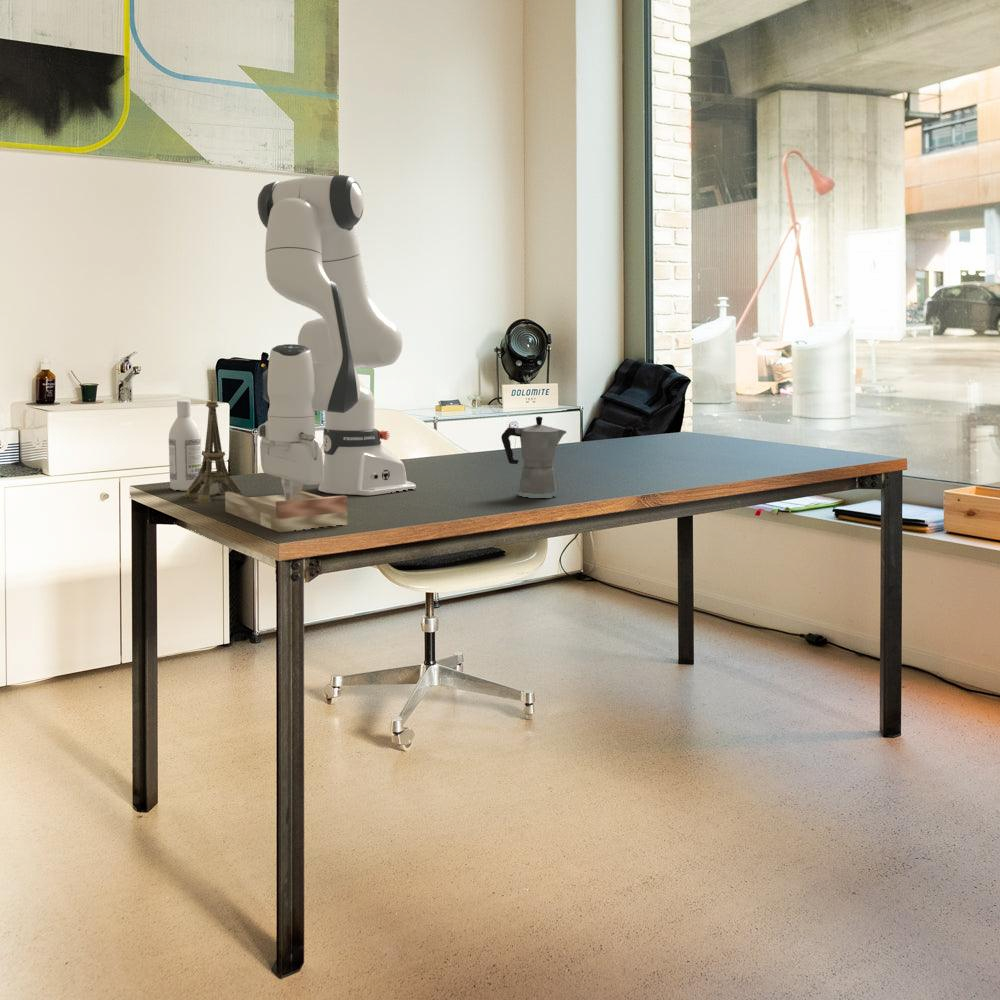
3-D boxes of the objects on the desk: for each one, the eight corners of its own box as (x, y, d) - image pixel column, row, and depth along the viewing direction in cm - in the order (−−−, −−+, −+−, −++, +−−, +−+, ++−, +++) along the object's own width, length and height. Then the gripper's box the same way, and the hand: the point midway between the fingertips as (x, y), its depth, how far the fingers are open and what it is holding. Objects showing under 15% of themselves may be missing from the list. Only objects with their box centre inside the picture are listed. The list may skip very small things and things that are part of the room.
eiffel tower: (198, 503, 229) (195, 384, 225) (182, 496, 237) (179, 381, 233) (246, 499, 235) (244, 383, 231) (229, 492, 243) (226, 380, 239)
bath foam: (206, 487, 250) (203, 400, 247) (196, 491, 243) (194, 402, 240) (176, 486, 250) (173, 399, 247) (165, 491, 243) (163, 401, 240)
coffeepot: (556, 491, 253) (558, 414, 251) (572, 498, 245) (574, 418, 242) (493, 493, 249) (495, 415, 246) (507, 500, 240) (508, 418, 237)
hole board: (289, 505, 227) (288, 479, 226) (347, 525, 207) (347, 496, 206) (225, 511, 219) (224, 484, 218) (279, 532, 199) (279, 502, 198)
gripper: (332, 435, 201) (332, 508, 203) (283, 425, 217) (284, 494, 219) (301, 436, 197) (301, 511, 199) (254, 426, 213) (255, 496, 216)
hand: (292, 502), depth 210 cm, fingers closed
